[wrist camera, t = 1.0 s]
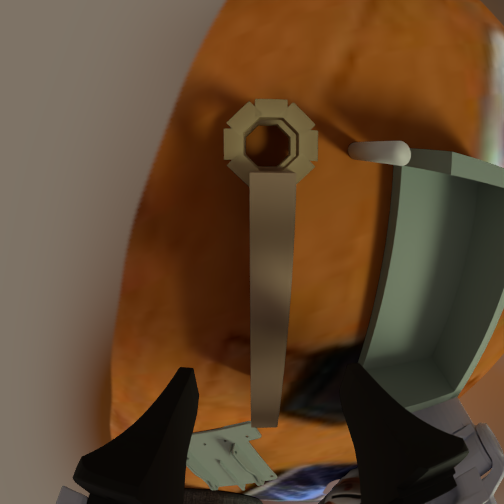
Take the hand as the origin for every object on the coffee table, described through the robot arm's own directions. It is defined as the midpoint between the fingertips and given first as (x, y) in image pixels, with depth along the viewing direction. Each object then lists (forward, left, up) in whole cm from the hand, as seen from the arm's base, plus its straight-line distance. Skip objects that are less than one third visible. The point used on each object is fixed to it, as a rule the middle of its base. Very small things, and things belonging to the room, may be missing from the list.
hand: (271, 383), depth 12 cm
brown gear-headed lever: (+2, 0, -9) cm, 9 cm away
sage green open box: (+1, -12, -9) cm, 15 cm away
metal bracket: (-26, +5, -10) cm, 28 cm away
